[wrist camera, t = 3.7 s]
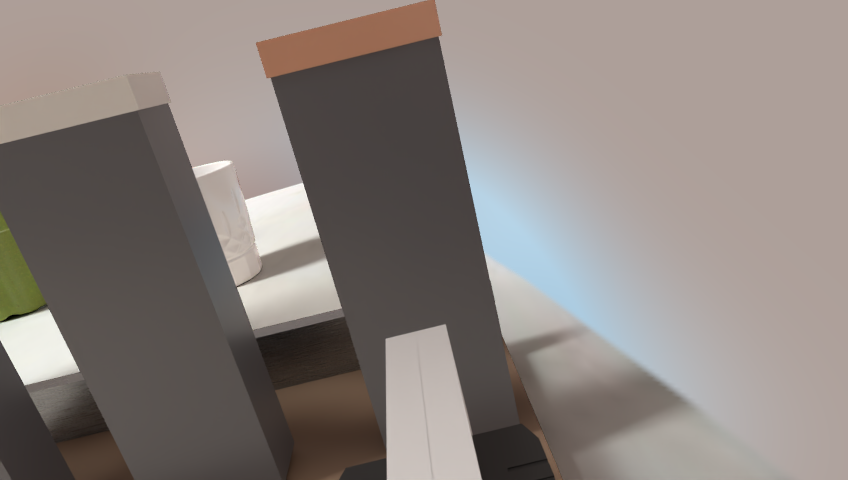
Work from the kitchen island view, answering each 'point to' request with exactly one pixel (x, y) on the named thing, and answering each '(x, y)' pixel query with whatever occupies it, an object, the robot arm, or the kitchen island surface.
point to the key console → (297, 393)
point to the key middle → (140, 281)
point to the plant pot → (15, 278)
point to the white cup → (229, 218)
